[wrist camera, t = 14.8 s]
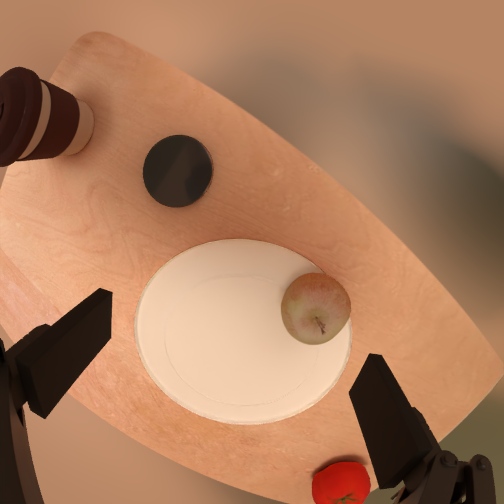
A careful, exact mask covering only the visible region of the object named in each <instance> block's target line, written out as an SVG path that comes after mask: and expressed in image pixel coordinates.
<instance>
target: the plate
mask: <svg viewBox="0 0 504 504" xmlns="http://www.w3.org/2000/svg"><path fill="white" fill-rule="evenodd" d="M307 273H321V274H325V273H324V272H323V271H322V270H321V269H320V268H319V267H318V266H316V265H315V264H314V263H312V262H311V261H310V260H308V259H307V258H305V257H303V256H302V255H300V254H298V253H296V252H294V251H292V250H290V249H287V248H284V247H282V246H279V245H276V244H272V243H268V242H263V241H258V240H250V239H227V240H218V241H213V242H208V243H204V244H201V245H198V246H195V247H192V248H190V249H188V250H186V251H184V252H182V253H180V254H178V255H176V256H175V257H173V258H172V259H170V260H169V261H168V262H166V263H165V264H164V265H163V266H162V267H161V268H160V269H159V270H158V271H157V272H156V273H155V274H154V275H153V276H152V277H151V279H150V280H149V281H148V283H147V284H146V286H145V288H144V290H143V291H142V293H141V296H140V298H139V301H138V304H137V307H136V312H135V319H134V336H135V342H136V347H137V350H138V353H139V356H140V359H141V361H142V363H143V365H144V367H145V369H146V371H147V372H148V374H149V376H150V377H151V378H152V380H153V381H154V382H155V383H156V385H157V386H158V387H159V388H160V389H161V390H162V391H163V392H164V393H165V394H166V395H167V396H168V397H170V398H171V399H172V400H173V401H175V402H176V403H178V404H179V405H181V406H182V407H184V408H185V409H187V410H189V411H191V412H193V413H195V414H197V415H200V416H202V417H205V418H208V419H211V420H215V421H218V422H223V423H229V424H238V425H257V424H266V423H272V422H276V421H280V420H283V419H286V418H289V417H292V416H294V415H296V414H299V413H301V412H303V411H305V410H306V409H308V408H310V407H311V406H313V405H314V404H315V403H317V402H318V401H319V400H321V399H322V398H323V397H324V396H325V395H326V394H327V393H328V392H329V391H330V390H331V389H332V388H333V386H334V385H335V384H336V383H337V381H338V380H339V378H340V377H341V375H342V373H343V371H344V369H345V367H346V365H347V362H348V359H349V356H350V351H351V346H352V324H351V318H350V317H349V319H348V321H347V323H346V325H345V326H344V327H343V328H342V330H341V331H340V332H339V333H338V334H337V335H336V336H335V337H334V338H333V339H331V340H330V341H328V342H326V343H323V344H319V345H308V344H304V343H301V342H299V341H298V340H296V339H295V338H293V337H292V336H291V335H290V334H289V333H288V331H287V330H286V328H285V326H284V324H283V321H282V316H281V302H282V298H283V296H284V294H285V292H286V290H287V288H288V287H289V286H290V284H291V283H292V282H293V281H294V280H295V279H296V278H298V277H299V276H301V275H303V274H307ZM325 275H326V274H325Z"/></svg>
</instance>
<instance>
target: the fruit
mask: <svg viewBox="0 0 504 504" xmlns="http://www.w3.org/2000/svg"><path fill="white" fill-rule="evenodd" d="M350 312H351V302H350V299H349V296H348V294H347V292H346V291H345V289H344V288H343V287H342V286H341V284H340V283H339V282H337V281H336V280H335V279H333V278H332V277H330V276H328V275H325V274H321V273H307V274H303V275H301V276H299V277H298V278H296V279H295V280H294V281H293V282H292V283H291V284H290V286H289V287H288V288H287V290H286V292H285V294H284V296H283V298H282V302H281V316H282V321H283V324H284V326H285V328H286V330H287V331H288V333H289V334H290V335H291V336H292V337H293V338H295V339H296V340H298V341H299V342H301V343H304V344H308V345H319V344H323V343H326V342H328V341H330V340H331V339H333V338H334V337H335V336H336V335H337V334H338V333H339V332H340V331H341V330H342V328H343V327H344V326H345V325H346V323H347V321H348V319H349V317H350Z"/></svg>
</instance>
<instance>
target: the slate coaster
mask: <svg viewBox="0 0 504 504" xmlns="http://www.w3.org/2000/svg"><path fill="white" fill-rule="evenodd" d="M213 171H214V168H213V161H212V158H211V155H210V153H209V151H208V150H207V148H206V147H205V146H204V145H203V144H202V143H201V142H199V141H198V140H196V139H194V138H192V137H189V136H186V135H173V136H169V137H166V138H164V139H162V140H161V141H159V142H158V143H157V144H155V145H154V146H153V147H152V149H151V150H150V151H149V153H148V155H147V157H146V159H145V162H144V166H143V179H144V183H145V186H146V188H147V190H148V192H149V194H150V195H151V196H152V197H153V198H154V199H155V200H156V201H158V202H159V203H161V204H163V205H165V206H169V207H184V206H187V205H190V204H192V203H194V202H196V201H198V200H199V199H200V198H201V197H202V196H203V195H204V194H205V193H206V192H207V190H208V188H209V187H210V184H211V182H212V179H213Z"/></svg>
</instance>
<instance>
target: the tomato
mask: <svg viewBox="0 0 504 504" xmlns="http://www.w3.org/2000/svg"><path fill="white" fill-rule="evenodd" d="M370 487H371V483H370V477H369V475H368V473H367V471H366V469H365V467H364V466H363V465H362V464H360V463H358V462H339V463H335V464H333V465H330V466H328V467H327V468H326V469H324V470H323V471H320V472H318V473H317V474H316V475H315V476H314V478H313V481H312V496H313V499H314V502H315V503H316V504H362V503H363V502H364V500H365V498H366V497H367V496H368V494H369V493H370Z"/></svg>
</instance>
